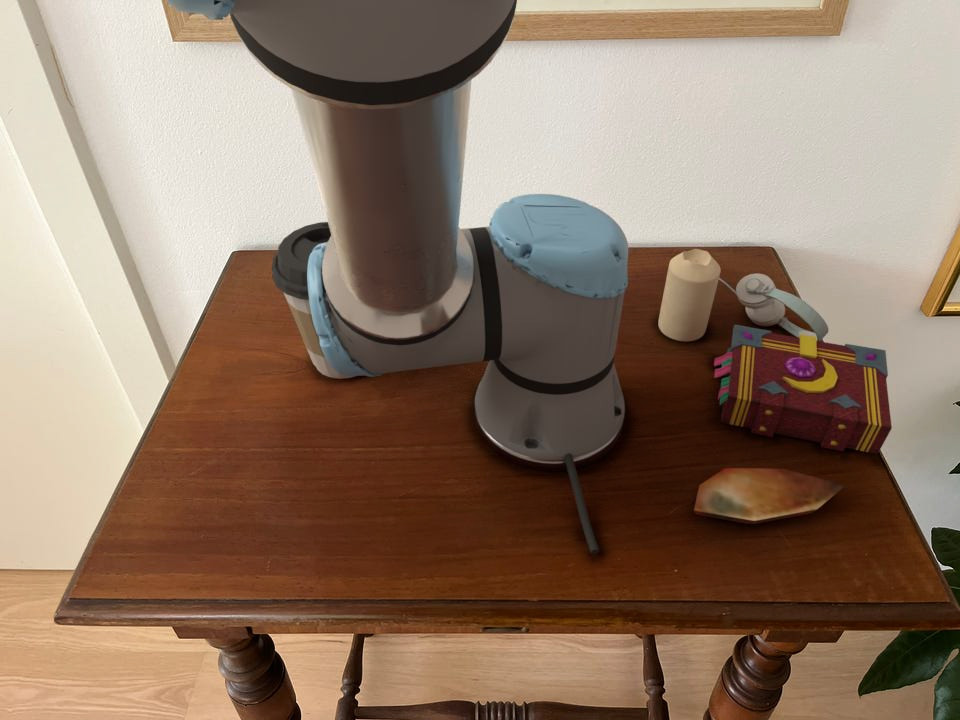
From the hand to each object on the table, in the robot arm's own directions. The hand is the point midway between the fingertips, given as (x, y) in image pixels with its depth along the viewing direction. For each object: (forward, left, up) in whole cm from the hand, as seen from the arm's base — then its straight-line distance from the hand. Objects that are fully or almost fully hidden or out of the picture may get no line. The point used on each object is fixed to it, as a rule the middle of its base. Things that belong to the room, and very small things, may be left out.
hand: (395, 235), depth 87 cm
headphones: (-14, -34, -6) cm, 37 cm away
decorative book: (-37, -29, -8) cm, 48 cm away
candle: (-22, -27, -8) cm, 36 cm away
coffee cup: (-10, +10, -8) cm, 16 cm away
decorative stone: (-46, -18, -5) cm, 50 cm away
